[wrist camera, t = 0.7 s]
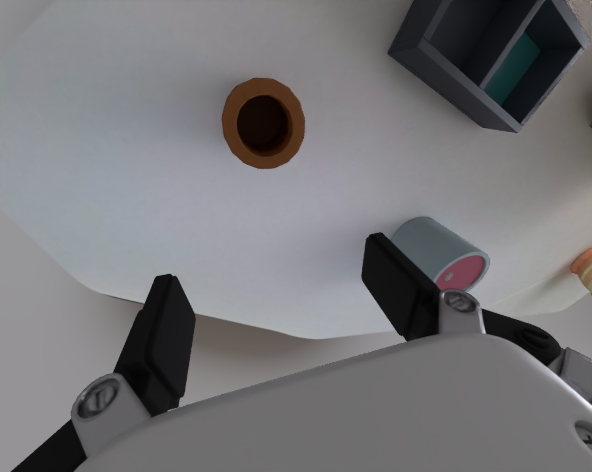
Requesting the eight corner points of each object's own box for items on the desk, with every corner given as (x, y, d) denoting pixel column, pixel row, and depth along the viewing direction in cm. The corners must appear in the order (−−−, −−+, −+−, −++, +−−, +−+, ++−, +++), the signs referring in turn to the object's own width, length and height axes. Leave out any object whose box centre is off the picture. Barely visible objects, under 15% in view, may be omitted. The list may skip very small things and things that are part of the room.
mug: (379, 246, 39) (418, 287, 31) (423, 206, 37) (478, 240, 29) (415, 277, 46) (455, 317, 38) (454, 245, 44) (505, 281, 36)
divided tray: (448, -69, 21) (499, -106, 17) (540, 48, 28) (591, 41, 24) (387, 53, 24) (416, 47, 21) (482, 127, 32) (517, 133, 28)
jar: (235, 68, 22) (237, 58, 15) (292, 99, 25) (318, 104, 17) (217, 132, 25) (212, 151, 17) (271, 154, 27) (286, 179, 20)
